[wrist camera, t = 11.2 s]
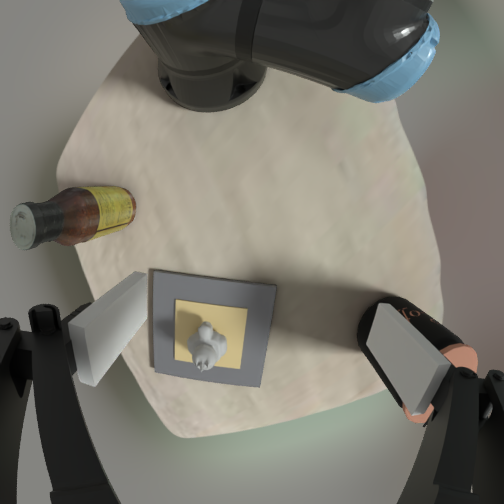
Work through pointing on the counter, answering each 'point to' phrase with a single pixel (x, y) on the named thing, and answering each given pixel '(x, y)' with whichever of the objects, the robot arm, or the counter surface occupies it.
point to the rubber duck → (206, 346)
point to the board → (222, 320)
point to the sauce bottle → (72, 216)
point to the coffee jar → (430, 330)
